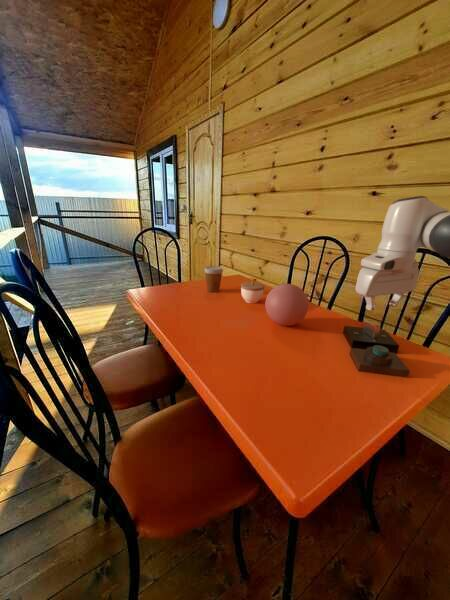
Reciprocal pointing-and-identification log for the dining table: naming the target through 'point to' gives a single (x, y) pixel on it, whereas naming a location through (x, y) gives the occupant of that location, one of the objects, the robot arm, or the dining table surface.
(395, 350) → the panel
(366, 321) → the knob
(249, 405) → the dining table surface
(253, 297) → the trinket box
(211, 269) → the disposable coffee cup
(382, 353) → the button
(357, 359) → the button block
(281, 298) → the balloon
